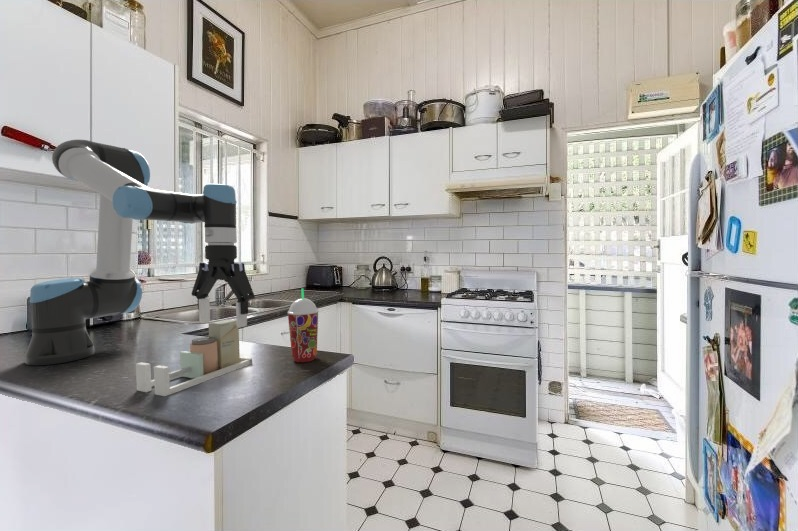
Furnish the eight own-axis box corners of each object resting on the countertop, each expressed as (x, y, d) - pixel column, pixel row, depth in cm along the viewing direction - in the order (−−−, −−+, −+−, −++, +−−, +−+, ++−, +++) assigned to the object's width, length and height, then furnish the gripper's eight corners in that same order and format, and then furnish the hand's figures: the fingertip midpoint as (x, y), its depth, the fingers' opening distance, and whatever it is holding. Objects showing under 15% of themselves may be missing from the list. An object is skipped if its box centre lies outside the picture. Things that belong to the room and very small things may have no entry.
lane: (136, 390, 82) (135, 363, 81) (226, 360, 104) (226, 338, 104) (164, 396, 78) (163, 368, 78) (252, 363, 100) (251, 341, 100)
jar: (185, 376, 91) (184, 341, 90) (207, 369, 96) (206, 335, 96) (202, 379, 88) (200, 343, 88) (223, 371, 94) (222, 337, 93)
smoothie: (315, 364, 99) (313, 289, 98) (284, 364, 99) (282, 290, 98) (322, 355, 107) (320, 286, 106) (294, 355, 107) (292, 287, 106)
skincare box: (221, 371, 94) (219, 324, 94) (209, 369, 96) (207, 323, 95) (240, 364, 100) (239, 319, 99) (229, 362, 102) (227, 318, 101)
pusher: (147, 387, 82) (146, 361, 82) (184, 374, 91) (183, 350, 90) (166, 391, 80) (165, 364, 80) (203, 378, 88) (202, 353, 88)
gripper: (175, 244, 98) (177, 323, 99) (245, 244, 88) (247, 331, 89) (200, 244, 105) (202, 318, 106) (268, 244, 95) (269, 325, 96)
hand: (222, 324), depth 97 cm, fingers open, 13 cm apart
